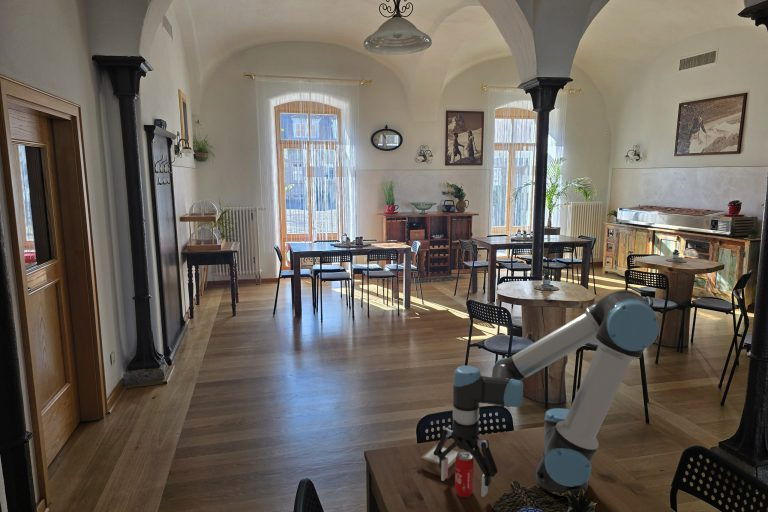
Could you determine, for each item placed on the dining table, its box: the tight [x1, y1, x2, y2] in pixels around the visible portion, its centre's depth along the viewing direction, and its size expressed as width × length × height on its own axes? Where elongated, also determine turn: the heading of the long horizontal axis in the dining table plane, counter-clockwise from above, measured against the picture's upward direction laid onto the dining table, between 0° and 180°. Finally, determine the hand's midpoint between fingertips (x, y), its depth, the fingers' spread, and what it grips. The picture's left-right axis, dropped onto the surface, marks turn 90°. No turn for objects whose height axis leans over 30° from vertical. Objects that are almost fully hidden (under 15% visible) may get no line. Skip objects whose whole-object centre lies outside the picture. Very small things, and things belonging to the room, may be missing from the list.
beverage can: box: [454, 450, 475, 498], centre depth 152 cm, size 5×5×12 cm
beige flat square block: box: [420, 443, 460, 480], centre depth 166 cm, size 10×10×4 cm
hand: (463, 486), depth 152 cm, fingers open, 12 cm apart
